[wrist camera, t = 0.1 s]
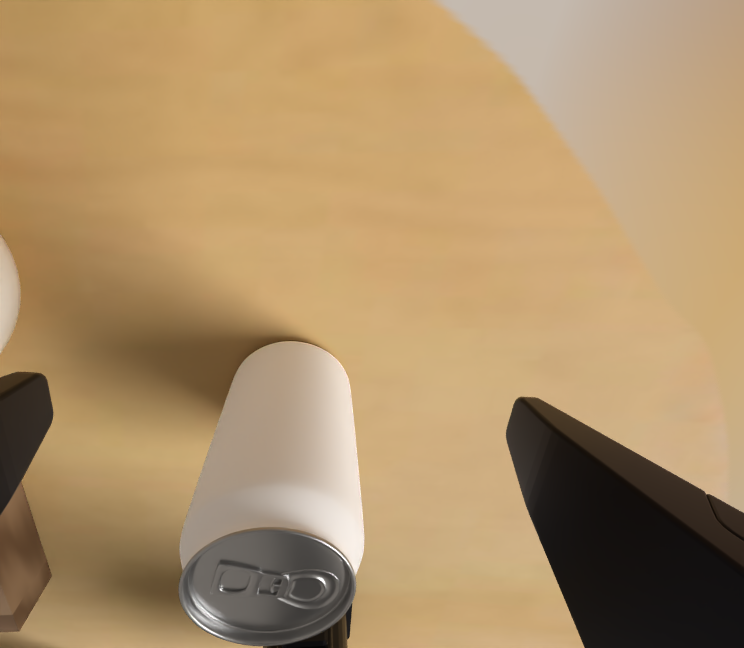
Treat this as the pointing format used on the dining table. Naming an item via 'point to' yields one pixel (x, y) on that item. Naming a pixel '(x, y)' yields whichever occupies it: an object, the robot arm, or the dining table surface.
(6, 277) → the lidded jar
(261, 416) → the can
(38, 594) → the sleeve block
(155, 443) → the dining table surface
